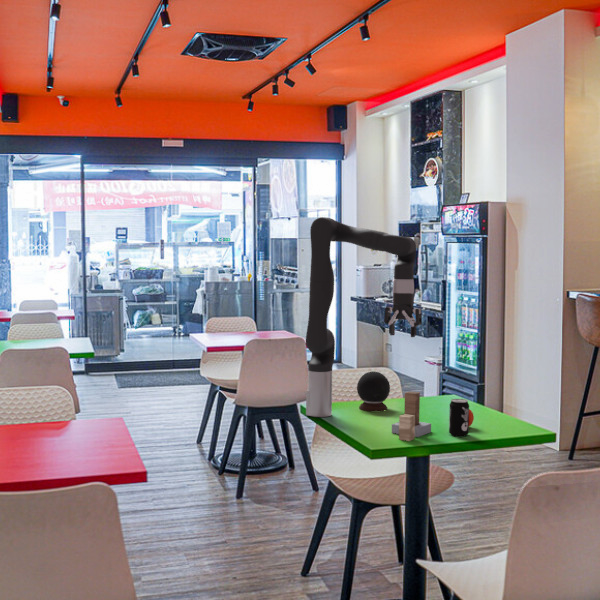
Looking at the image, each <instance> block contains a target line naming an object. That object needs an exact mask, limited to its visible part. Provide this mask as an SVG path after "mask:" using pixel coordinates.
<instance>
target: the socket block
mask: <svg viewBox="0 0 600 600" xmlns="http://www.w3.org/2000/svg"><path fill="white" fill-rule="evenodd" d="M395 433H396V435H399V421H398V422H395V423H392V424H391V434H395ZM430 433H432V423H430V422H424V421H423V422H422V421H419V425H417V426H415V436H414V438H419V437H422V436H424V435H426V434H430Z"/></svg>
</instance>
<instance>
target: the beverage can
mask: <svg viewBox="0 0 600 600" xmlns="http://www.w3.org/2000/svg"><path fill="white" fill-rule="evenodd" d="M469 409H470V403H469V400H468V399H464V398H452V399H450V402H449V416H448V417H449V419H448V433H449V435H451V436H454V437H467V435H468V434H469V430H470V429H469V428H470V426H469Z"/></svg>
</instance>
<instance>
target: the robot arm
mask: <svg viewBox="0 0 600 600" xmlns="http://www.w3.org/2000/svg"><path fill="white" fill-rule="evenodd" d="M309 231H310V233H309V235H310V248H311V249H310V250H311V256H310V257H311V260H310V272H309V273H310V274H309V275H310V276H309V298H308V303H309V304H308V322H307V323H308V324H307V329H306V336H305V345H306V347H307V349H308V351H309V352H310V353H311V357H310V359H309V362H308V365H307V389H306V393H305V394H306V396H305V402H306V403H305V415H306V416H310V417H314V418H326V417H327V418H328V417H330V416H332V415H333V414H332V413H333V412H332V411H333V409H332V408H333V366H334V364H335V363H334V362H335V351H336V350H335V345H336V343H335V342H336V341H335V340H336V338H335V336H334V333H333V332H332V331H331V330H330V329H329V328H328V315H329V311H330V309H331V305H332V302H333V298H334V292H335V273H334V269H333V268H334V267H333V264H332V260H331V244H332V243H331V242H335V243H336V242H337V243H338V242H340V243H348V244H351V245H352V244H353V245H356V246H359V247H361V248H365V249H370V250H374V251H379V252H386V253H388V254H391V255H395V256H397V262H396V263H395V264H394V268H393V285H392V306H386V307H384V320H383V321H384V323H385V324H387V325H388V333H389V335H390V336H395V333H396V330H395V329H396V327H395V326H396V322H397V321H398V320H404V321H405V320H406V321H407V322H408V323H409V324H410V337H411V338H415V337H416V336H417V331H418V330H417V328H418V326H422V324H423V320H422V319H423V318H422V316H423V315H422V313H423V310H422V308H414V303H415V301H414V300H415V299H414V298H415V281H414V271H415V268H414V266H415V262H416V261H415V260H416V255H417V243H416V241H415V240H414V238H412V237H410V236H402V235H401V236H400V235H396V234H395V235H394V234H391V233H390V234H389V233H387V232H384V231H381V230H374V229H369V228H361V227H356V226H355V227H354V226H352V225H348V224H344V223H342V222H341V221H338V220H335V219H333V218H331V217H325V216H324V217H323V216H320V217H316V218H315V219H314V220H313V221H312V223H311V225H310V229H309ZM392 313H393V315H392ZM413 314H414V315H415V317H414V315H413Z"/></svg>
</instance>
